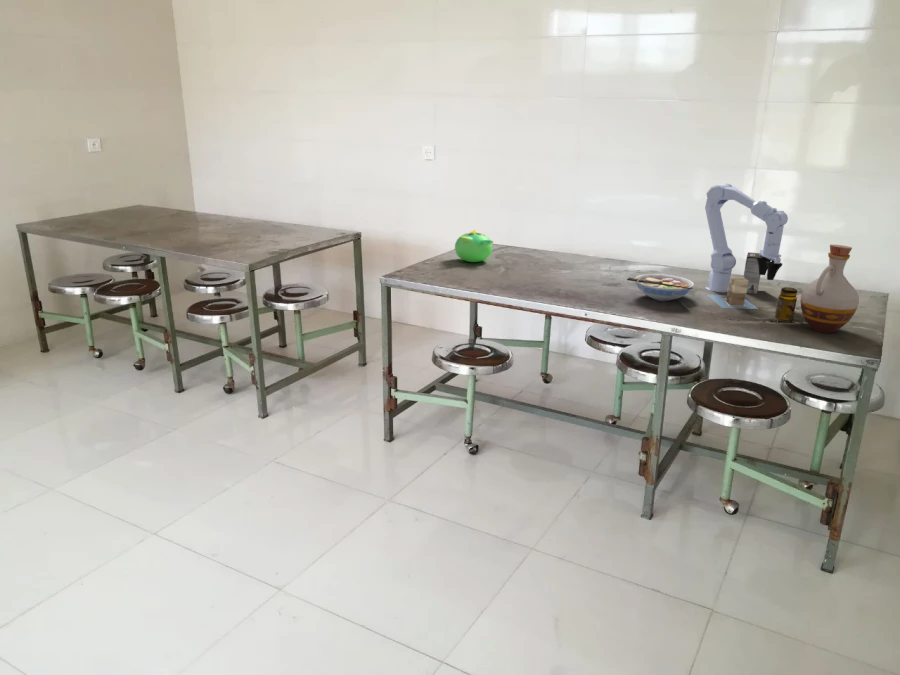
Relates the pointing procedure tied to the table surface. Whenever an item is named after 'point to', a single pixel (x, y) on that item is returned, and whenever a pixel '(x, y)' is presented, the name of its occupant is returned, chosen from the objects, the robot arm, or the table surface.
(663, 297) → the ramen bowl
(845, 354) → the table surface
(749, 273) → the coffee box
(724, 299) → the board
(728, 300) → the walnut cube
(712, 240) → the robot arm
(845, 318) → the jug
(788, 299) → the condiment
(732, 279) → the maple cube
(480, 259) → the green teapot
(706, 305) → the table surface
